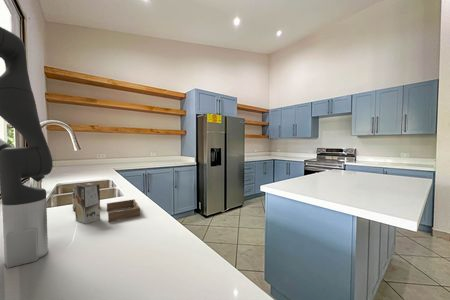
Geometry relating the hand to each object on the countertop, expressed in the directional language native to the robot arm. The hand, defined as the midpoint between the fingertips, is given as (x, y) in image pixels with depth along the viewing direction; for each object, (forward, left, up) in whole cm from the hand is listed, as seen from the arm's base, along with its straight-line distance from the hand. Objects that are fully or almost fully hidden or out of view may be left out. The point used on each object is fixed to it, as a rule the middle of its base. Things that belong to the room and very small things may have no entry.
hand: (41, 179), depth 78 cm
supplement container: (+20, -13, -20) cm, 31 cm away
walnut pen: (0, -29, -20) cm, 35 cm away
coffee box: (0, -15, -20) cm, 25 cm away
